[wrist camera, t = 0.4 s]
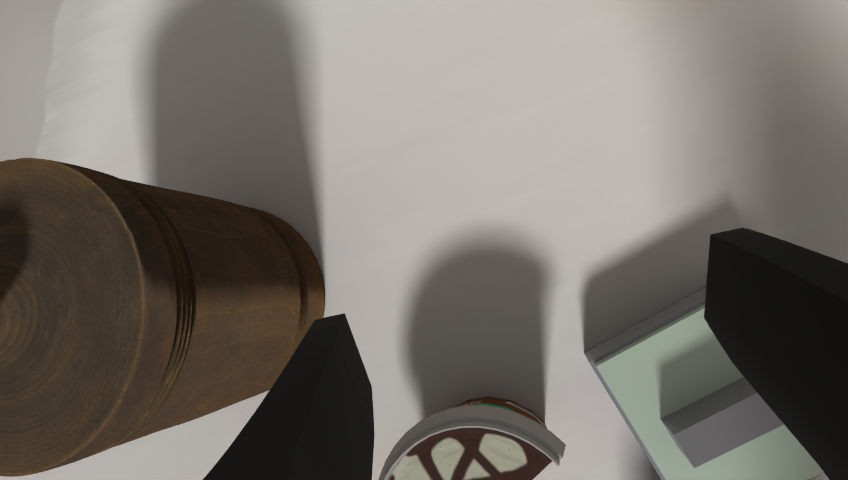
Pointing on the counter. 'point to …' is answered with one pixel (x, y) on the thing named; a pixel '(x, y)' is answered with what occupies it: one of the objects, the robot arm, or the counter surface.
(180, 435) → the counter surface
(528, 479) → the food container
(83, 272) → the wooden container
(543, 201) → the counter surface
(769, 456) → the lid
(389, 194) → the counter surface
